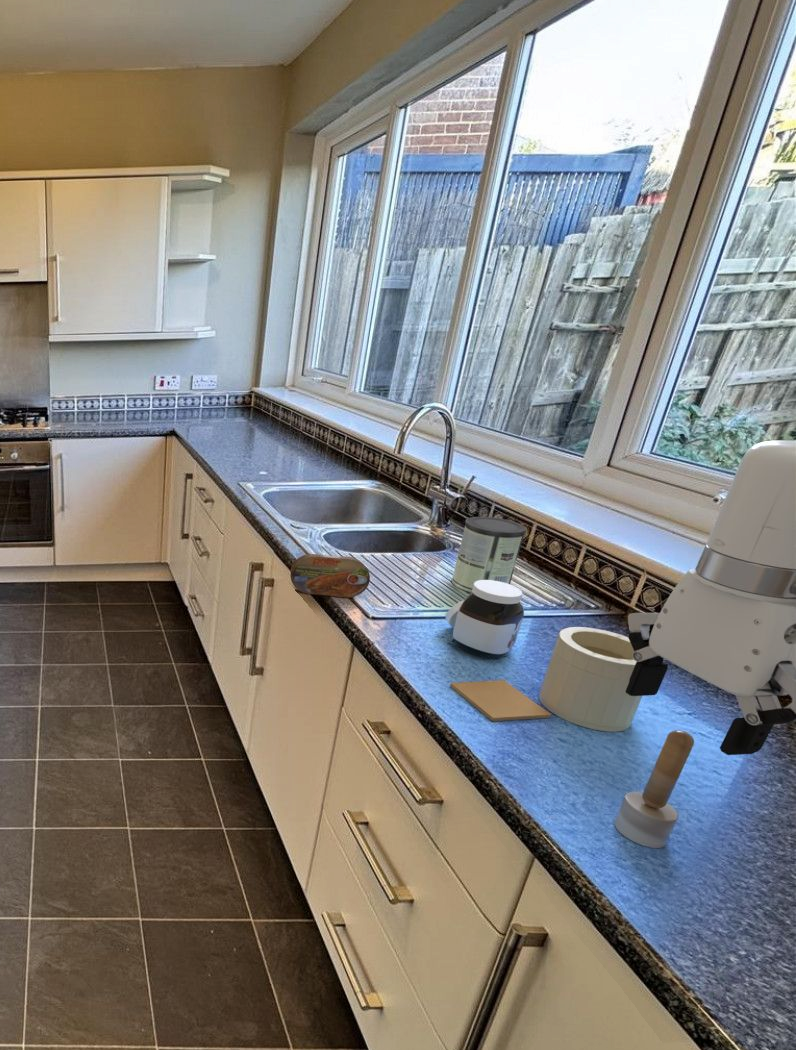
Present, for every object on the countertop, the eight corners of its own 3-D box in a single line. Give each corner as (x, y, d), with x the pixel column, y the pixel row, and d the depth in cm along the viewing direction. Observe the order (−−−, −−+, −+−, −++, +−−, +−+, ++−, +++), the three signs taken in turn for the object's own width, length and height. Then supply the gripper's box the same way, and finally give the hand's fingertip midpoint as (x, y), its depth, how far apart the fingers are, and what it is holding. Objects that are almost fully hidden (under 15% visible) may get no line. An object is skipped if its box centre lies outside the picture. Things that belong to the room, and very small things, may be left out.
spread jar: (488, 665, 103) (506, 603, 99) (422, 636, 112) (436, 578, 108) (526, 647, 108) (545, 587, 104) (460, 621, 117) (475, 564, 113)
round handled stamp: (638, 816, 72) (681, 718, 67) (677, 847, 68) (726, 744, 63) (603, 819, 72) (644, 720, 67) (640, 849, 68) (686, 747, 63)
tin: (288, 592, 130) (293, 555, 127) (287, 585, 133) (292, 549, 130) (366, 600, 126) (373, 562, 123) (363, 594, 129) (371, 556, 126)
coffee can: (466, 572, 138) (482, 513, 133) (517, 589, 130) (536, 526, 125) (440, 582, 134) (455, 521, 128) (492, 600, 125) (510, 536, 120)
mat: (503, 682, 98) (504, 679, 98) (550, 717, 90) (551, 714, 90) (449, 686, 98) (450, 682, 97) (492, 721, 89) (493, 718, 89)
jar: (584, 686, 97) (606, 625, 93) (651, 729, 87) (679, 662, 83) (521, 690, 96) (540, 628, 92) (581, 734, 86) (606, 666, 82)
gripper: (915, 613, 51) (819, 778, 57) (694, 539, 67) (638, 674, 73) (833, 616, 50) (745, 782, 56) (630, 541, 66) (579, 676, 72)
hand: (685, 721), depth 65 cm, fingers open, 9 cm apart
